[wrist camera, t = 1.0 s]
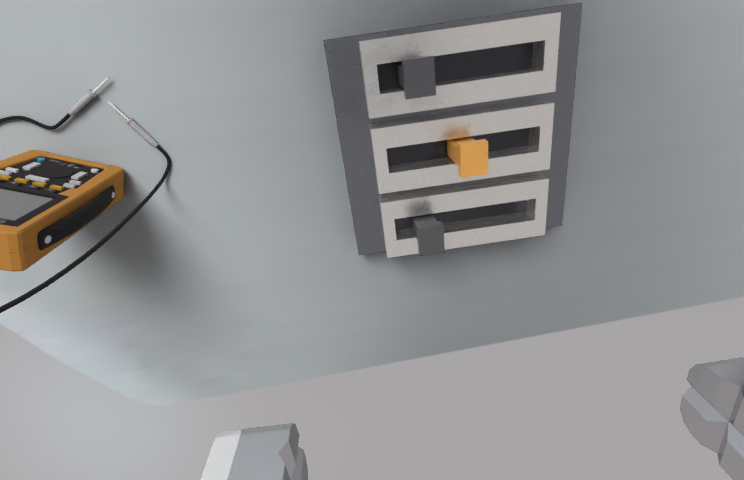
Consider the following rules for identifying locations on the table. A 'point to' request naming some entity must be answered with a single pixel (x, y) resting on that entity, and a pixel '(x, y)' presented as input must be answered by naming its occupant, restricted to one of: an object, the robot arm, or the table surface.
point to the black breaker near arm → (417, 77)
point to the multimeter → (56, 200)
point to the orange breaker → (469, 155)
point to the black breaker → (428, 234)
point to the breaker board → (458, 127)
